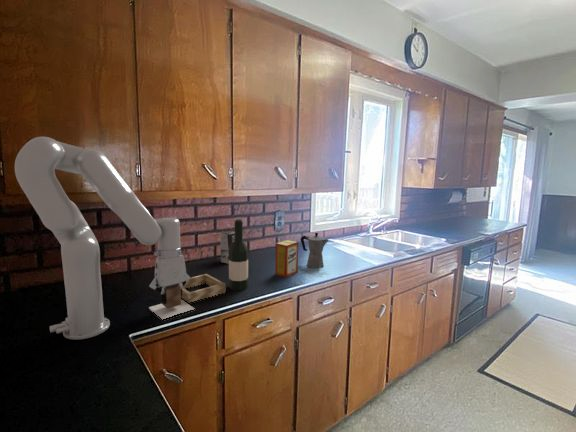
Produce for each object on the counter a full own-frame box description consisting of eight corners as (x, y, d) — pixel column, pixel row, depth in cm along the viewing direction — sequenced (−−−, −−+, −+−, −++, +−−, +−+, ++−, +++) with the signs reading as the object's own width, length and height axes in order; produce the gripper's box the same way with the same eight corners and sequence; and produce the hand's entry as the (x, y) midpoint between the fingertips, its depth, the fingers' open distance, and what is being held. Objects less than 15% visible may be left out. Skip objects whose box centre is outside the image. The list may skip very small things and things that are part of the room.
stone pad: (162, 320, 109) (162, 319, 108) (148, 308, 117) (148, 307, 117) (194, 310, 117) (194, 308, 117) (180, 299, 125) (179, 298, 125)
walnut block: (167, 308, 113) (166, 289, 112) (161, 303, 117) (161, 285, 115) (181, 304, 116) (180, 286, 115) (174, 300, 120) (174, 282, 119)
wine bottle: (229, 291, 135) (229, 221, 130) (228, 284, 143) (227, 217, 138) (249, 289, 137) (249, 220, 132) (246, 282, 145) (247, 217, 140)
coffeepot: (329, 264, 173) (331, 232, 170) (324, 269, 165) (326, 235, 162) (302, 260, 179) (304, 229, 176) (296, 265, 171) (297, 232, 168)
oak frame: (188, 303, 122) (188, 294, 121) (171, 291, 133) (170, 282, 132) (225, 292, 133) (225, 283, 132) (206, 282, 144) (206, 273, 143)
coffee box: (229, 264, 170) (229, 234, 167) (220, 262, 173) (220, 233, 171) (240, 260, 178) (240, 231, 175) (231, 258, 181) (231, 230, 178)
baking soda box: (285, 277, 153) (286, 244, 150) (275, 274, 156) (275, 242, 154) (297, 272, 160) (298, 241, 157) (287, 269, 164) (287, 239, 161)
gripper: (149, 259, 105) (151, 311, 108) (196, 250, 117) (197, 297, 120) (140, 254, 110) (143, 304, 113) (187, 246, 122) (188, 291, 125)
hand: (171, 300), depth 116 cm, fingers closed on walnut block, 5 cm apart
